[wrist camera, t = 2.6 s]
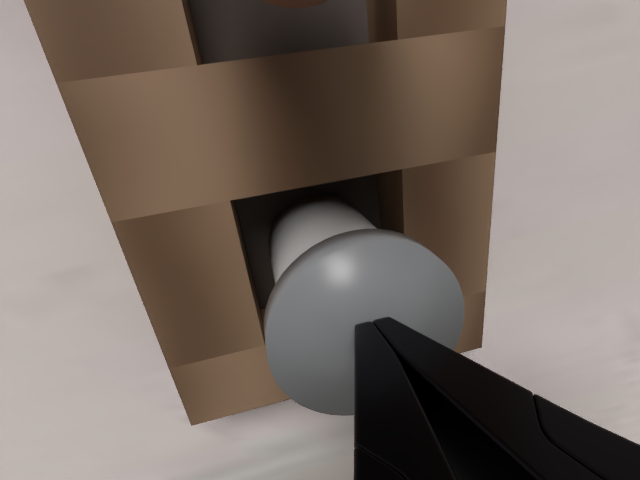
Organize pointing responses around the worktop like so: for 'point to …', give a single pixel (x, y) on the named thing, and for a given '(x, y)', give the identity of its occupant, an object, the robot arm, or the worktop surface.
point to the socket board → (275, 151)
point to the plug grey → (346, 296)
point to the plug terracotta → (295, 3)
